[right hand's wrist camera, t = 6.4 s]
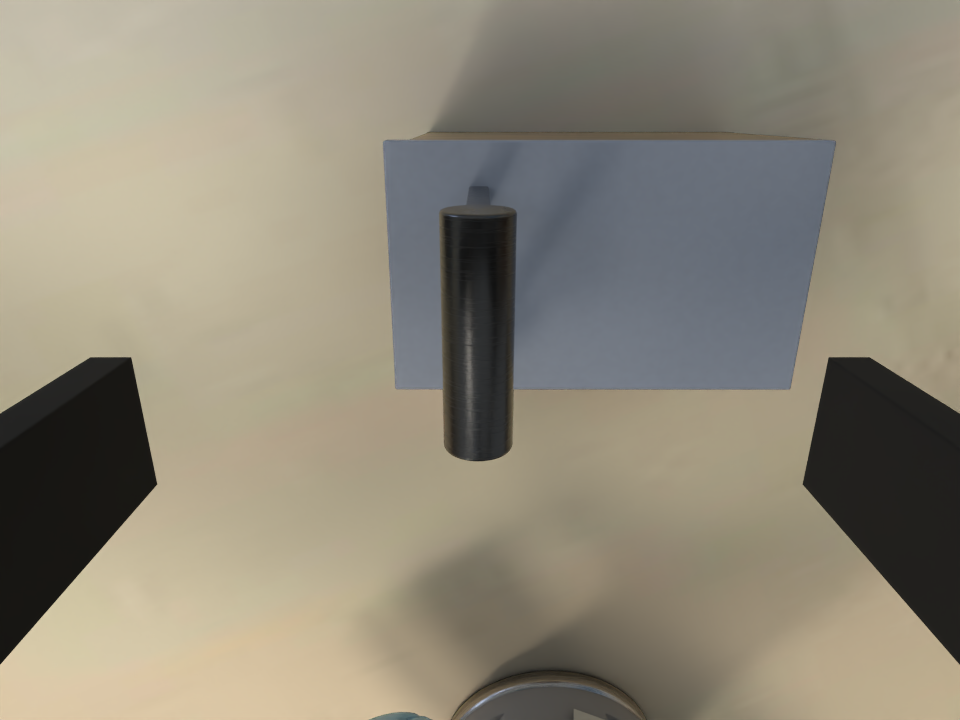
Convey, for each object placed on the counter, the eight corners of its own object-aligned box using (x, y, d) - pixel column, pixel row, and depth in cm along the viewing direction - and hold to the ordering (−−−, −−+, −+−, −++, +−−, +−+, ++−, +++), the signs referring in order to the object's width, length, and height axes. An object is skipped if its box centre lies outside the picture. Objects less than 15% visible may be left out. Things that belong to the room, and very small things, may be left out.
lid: (397, 381, 26) (359, 505, 18) (386, 139, 23) (332, 154, 15) (781, 382, 26) (920, 505, 18) (825, 139, 23) (1020, 154, 15)
